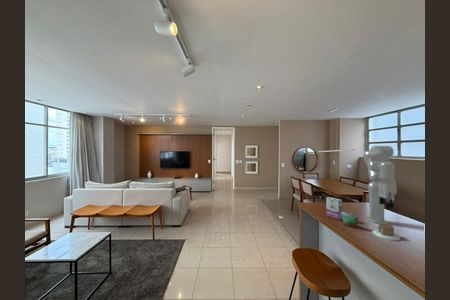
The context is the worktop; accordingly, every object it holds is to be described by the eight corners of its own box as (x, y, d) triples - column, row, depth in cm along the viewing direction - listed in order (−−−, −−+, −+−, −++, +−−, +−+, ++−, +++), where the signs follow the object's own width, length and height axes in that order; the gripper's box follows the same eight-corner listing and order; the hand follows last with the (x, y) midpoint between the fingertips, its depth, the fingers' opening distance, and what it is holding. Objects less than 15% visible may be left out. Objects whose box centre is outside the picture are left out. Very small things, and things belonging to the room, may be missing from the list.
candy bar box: (342, 219, 156) (342, 199, 156) (338, 220, 153) (339, 200, 153) (329, 215, 165) (329, 196, 165) (325, 216, 163) (325, 197, 163)
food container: (337, 223, 148) (337, 210, 148) (342, 222, 150) (343, 209, 150) (353, 229, 136) (353, 215, 136) (359, 228, 139) (359, 214, 139)
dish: (369, 229, 136) (369, 228, 136) (392, 232, 132) (392, 230, 132) (378, 238, 123) (378, 236, 123) (405, 242, 119) (405, 240, 119)
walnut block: (378, 231, 131) (378, 222, 131) (388, 232, 129) (388, 223, 129) (382, 235, 125) (382, 226, 125) (393, 236, 124) (393, 227, 123)
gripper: (373, 178, 136) (373, 202, 137) (386, 183, 120) (386, 209, 120) (386, 178, 134) (386, 202, 134) (401, 183, 117) (400, 211, 118)
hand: (386, 206), depth 127 cm, fingers open, 9 cm apart
